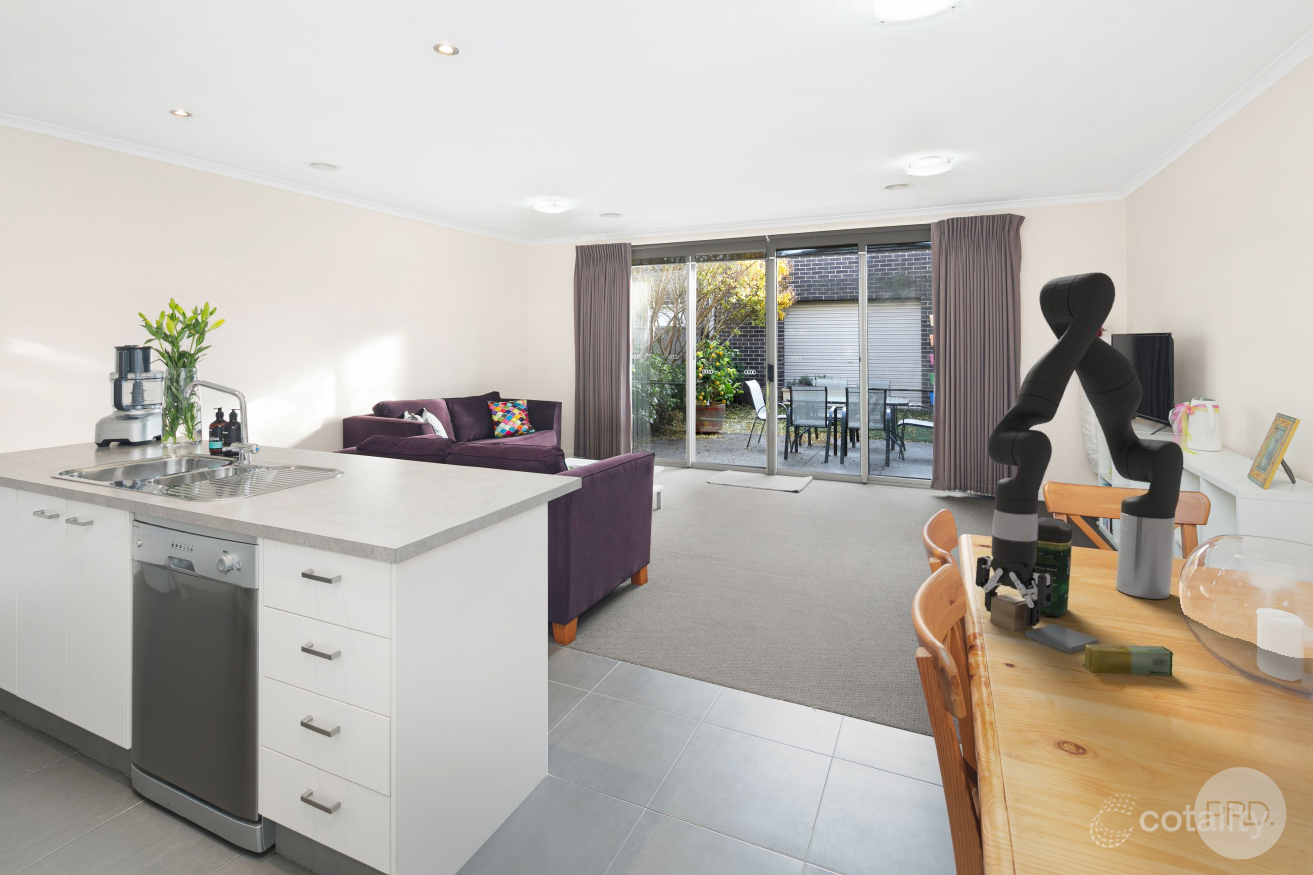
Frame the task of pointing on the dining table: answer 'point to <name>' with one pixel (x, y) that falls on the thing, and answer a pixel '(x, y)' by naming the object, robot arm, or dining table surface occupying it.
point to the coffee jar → (1054, 561)
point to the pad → (1061, 638)
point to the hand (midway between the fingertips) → (1010, 617)
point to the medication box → (1128, 659)
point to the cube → (1009, 612)
